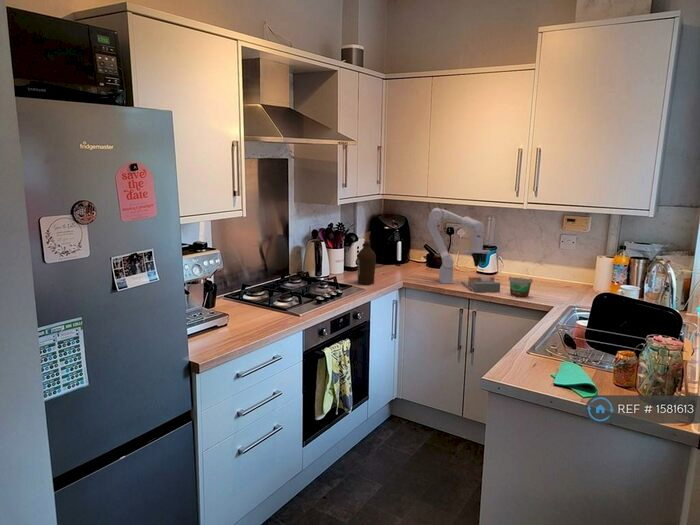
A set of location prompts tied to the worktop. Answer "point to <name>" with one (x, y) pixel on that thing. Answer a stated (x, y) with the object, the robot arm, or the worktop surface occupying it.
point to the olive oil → (366, 264)
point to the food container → (520, 286)
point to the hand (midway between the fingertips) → (476, 266)
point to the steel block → (483, 279)
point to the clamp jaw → (475, 279)
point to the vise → (484, 287)
